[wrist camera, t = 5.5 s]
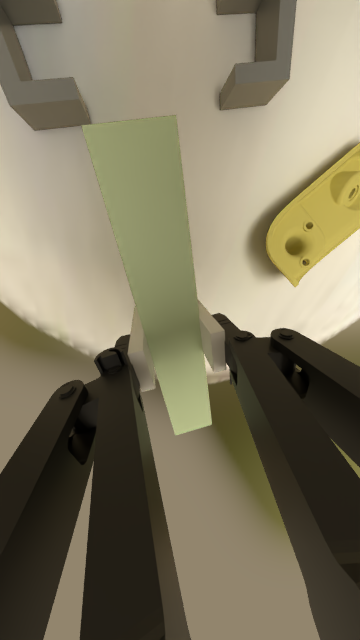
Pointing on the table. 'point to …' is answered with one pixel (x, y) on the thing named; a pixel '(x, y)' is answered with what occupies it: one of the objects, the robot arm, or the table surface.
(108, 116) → the table surface
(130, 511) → the robot arm
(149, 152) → the slat
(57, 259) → the table surface
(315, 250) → the plastic component
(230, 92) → the end caps
